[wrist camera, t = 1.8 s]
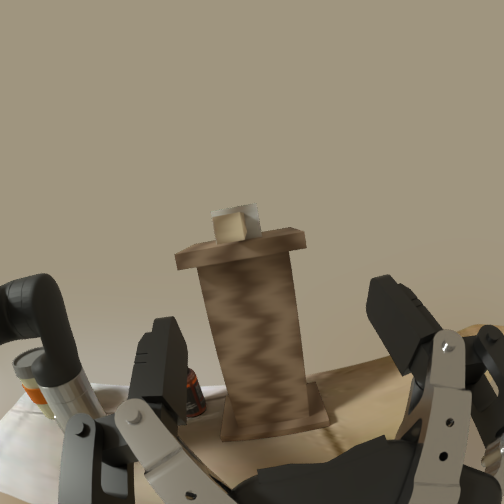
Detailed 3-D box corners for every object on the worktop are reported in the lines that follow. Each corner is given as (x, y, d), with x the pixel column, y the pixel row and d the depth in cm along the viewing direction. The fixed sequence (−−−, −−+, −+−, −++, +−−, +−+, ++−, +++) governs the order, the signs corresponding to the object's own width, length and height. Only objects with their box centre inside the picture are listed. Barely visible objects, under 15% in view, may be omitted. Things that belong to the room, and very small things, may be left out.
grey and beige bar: (199, 259, 24) (190, 209, 23) (222, 239, 42) (217, 212, 42) (267, 247, 23) (258, 196, 23) (260, 233, 42) (255, 205, 42)
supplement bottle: (202, 397, 51) (187, 353, 49) (211, 412, 45) (195, 366, 44) (176, 405, 48) (159, 362, 47) (182, 421, 43) (164, 375, 41)
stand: (222, 441, 37) (167, 255, 33) (227, 401, 49) (188, 245, 44) (329, 425, 36) (312, 230, 32) (315, 387, 48) (296, 226, 44)
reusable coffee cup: (64, 426, 38) (33, 369, 36) (31, 418, 37) (3, 366, 35) (85, 398, 50) (61, 345, 48) (53, 394, 50) (30, 346, 48)
